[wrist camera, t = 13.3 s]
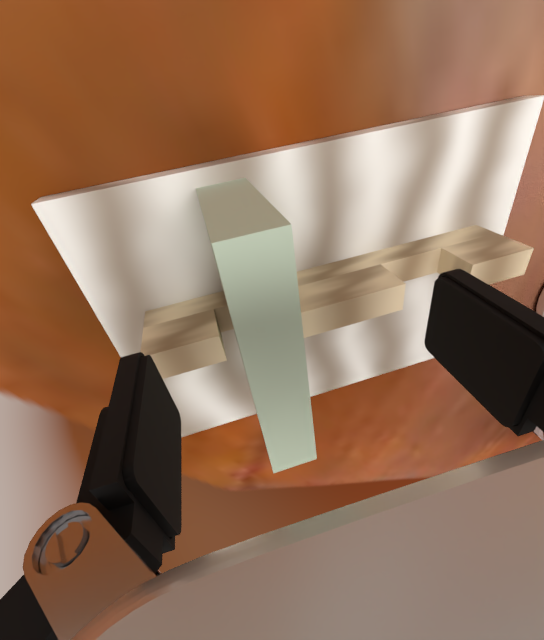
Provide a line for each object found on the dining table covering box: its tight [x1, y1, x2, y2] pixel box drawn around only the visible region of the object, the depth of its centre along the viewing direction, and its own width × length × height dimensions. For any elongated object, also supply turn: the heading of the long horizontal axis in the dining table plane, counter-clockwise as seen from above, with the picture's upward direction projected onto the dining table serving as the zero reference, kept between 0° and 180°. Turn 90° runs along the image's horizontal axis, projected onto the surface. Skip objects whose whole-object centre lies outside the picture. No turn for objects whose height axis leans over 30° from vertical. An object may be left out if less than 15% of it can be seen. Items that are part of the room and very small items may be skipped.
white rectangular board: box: [31, 95, 544, 437], centre depth 24 cm, size 32×22×6 cm
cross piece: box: [196, 178, 317, 473], centre depth 20 cm, size 16×3×9 cm, turn 9°
